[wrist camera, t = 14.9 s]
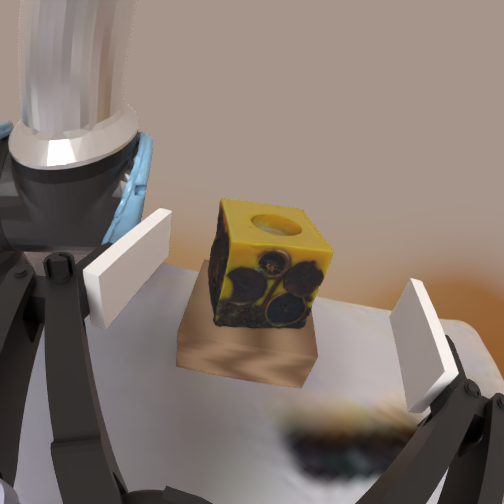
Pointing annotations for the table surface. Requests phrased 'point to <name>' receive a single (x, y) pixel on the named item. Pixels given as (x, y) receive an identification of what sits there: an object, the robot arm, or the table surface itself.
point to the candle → (265, 266)
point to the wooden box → (242, 345)
